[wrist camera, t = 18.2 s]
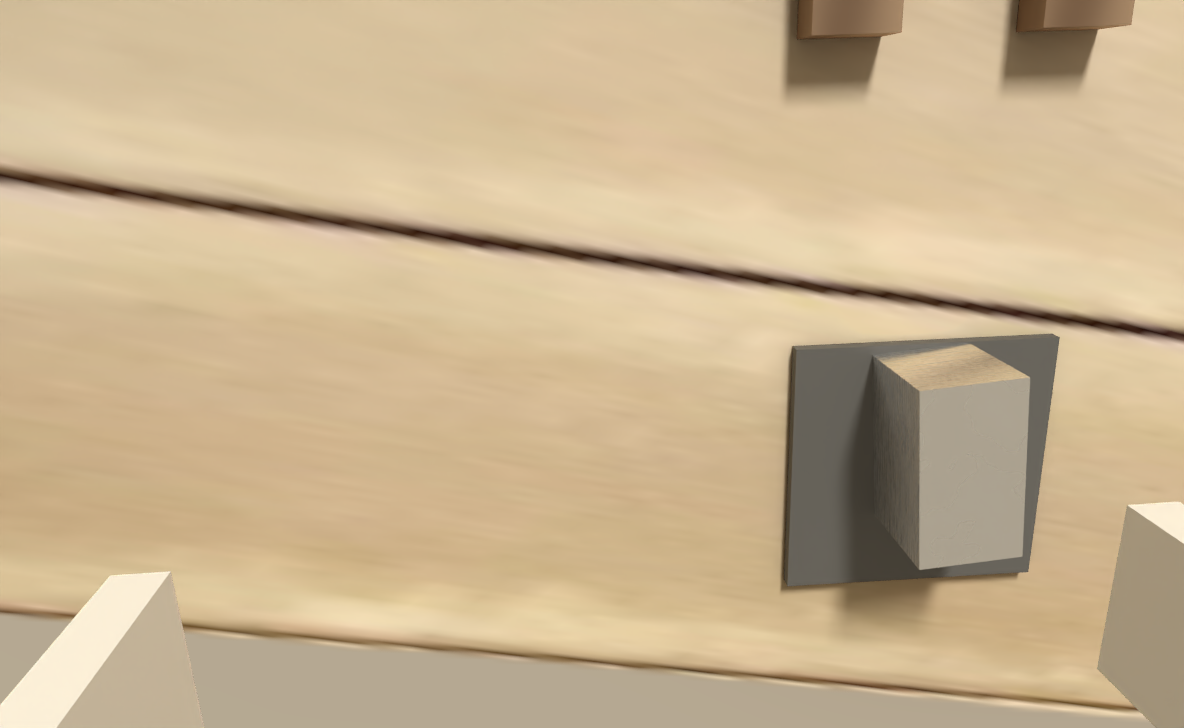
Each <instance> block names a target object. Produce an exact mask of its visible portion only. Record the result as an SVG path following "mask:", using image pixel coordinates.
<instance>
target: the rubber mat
mask: <svg viewBox="0 0 1184 728" xmlns="http://www.w3.org/2000/svg"><path fill="white" fill-rule="evenodd" d="M1059 338H1060V337H1058V336H1056V335H1053V334H1039V335H1018V336H997V337H976V338H955V339H934V340H913V341H892V342H872V343H851V344H830V345H809V346H793V355H792V381H791V408H790V435H789V462H788V489H787V515H786V542H785V569H784V580H785V582H786V584H787V586H799V585H816V584H833V583H850V582H867V581H884V580H901V579H918V578H935V577H952V576H969V575H985V574H1002V573H1019V572H1028V569H1029V561H1030V554H1031V547H1032V539H1033V532H1034V524H1035V517H1036V509H1037V502H1038V494H1039V487H1040V479H1041V472H1042V465H1043V457H1044V450H1045V442H1046V435H1047V427H1048V420H1049V412H1050V405H1051V397H1052V390H1053V382H1054V375H1055V368H1056V360H1057V353H1058V345H1059ZM965 343H970V344H972V345H973V346H975V347H977V348H979V349H981V350H982V351H984V352H986V353H988V354H990V355H991V356H993V357H995V358H997V359H998V360H1000V361H1002V362H1004V363H1006V364H1007V365H1009V366H1011V367H1013V368H1015V369H1016V370H1018V371H1020V372H1022V373H1023V374H1025V375H1027V376H1029V377H1030V393H1029V416H1028V439H1027V463H1026V486H1025V509H1024V532H1023V555H1022V557H1016V558H1008V559H1000V560H993V561H985V562H977V563H969V564H962V565H954V566H946V567H939V568H931V569H923V570H919V569H918V568H917V566H916V565H915V564H914V563H913V561H912V560H911V559H910V558H909V556H908V555H907V554H906V553H905V552H904V550H903V549H902V548H901V547H900V545H899V544H898V543H897V542H896V540H895V539H894V538H893V537H892V535H891V534H890V533H889V532H888V530H887V529H886V528H885V527H884V525H883V524H882V523H881V522H880V520H879V519H878V518H877V517H876V515H875V485H874V421H873V357H872V355H878V354H886V353H894V352H902V351H910V350H918V349H926V348H934V347H942V346H949V345H957V344H965Z"/></svg>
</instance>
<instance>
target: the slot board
mask: <svg viewBox="0 0 1184 728" xmlns="http://www.w3.org/2000/svg"><path fill="white" fill-rule="evenodd" d="M1134 1H1135V0H1019V8H1018V17H1017V27H1016V32H1031V31H1061V30H1091V29H1104V28H1111V27H1119V26H1126V25H1131V22H1132V15H1133V8H1134ZM903 3H904V0H798V24H797V39H821V38H851V37H881V36H886V35H891V34H896V33H901V32H902V17H903Z"/></svg>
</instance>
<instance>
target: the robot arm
mask: <svg viewBox="0 0 1184 728" xmlns="http://www.w3.org/2000/svg"><path fill="white" fill-rule="evenodd" d="M1097 669H1098V670H1099V671H1100V672H1101V673H1102V674H1103V675H1104V676H1105V677H1106V678H1107V679H1108V680H1109V681H1110V682H1111V683H1112V684H1113V685H1114V686H1115V687H1116V688H1117V689H1118V690H1119V691H1120V692H1121V693H1122V694H1123V695H1124V696H1125V697H1126V698H1127V699H1128V700H1129V701H1130V702H1131V703H1132V704H1133V705H1134V706H1135V707H1136V708H1137V709H1138V710H1139V711H1140V712H1141V713H1142V714H1143V715H1144V716H1145V717H1146V718H1147V719H1148V720H1149V721H1150V722H1151V723H1152V724H1153V725H1154V726H1155V727H1156V728H1184V505H1183V504H1182V503H1180V502H1166V503H1152V504H1137V505H1127V509H1126V515H1125V520H1124V525H1123V531H1122V536H1121V542H1120V547H1119V553H1118V558H1117V563H1116V569H1115V574H1114V580H1113V585H1112V591H1111V596H1110V601H1109V607H1108V612H1107V618H1106V623H1105V629H1104V634H1103V639H1102V645H1101V650H1100V656H1099V661H1098V667H1097ZM0 728H204V724H203V720H202V715H201V710H200V706H199V701H198V697H197V692H196V687H195V682H194V678H193V673H192V668H191V664H190V659H189V654H188V650H187V645H186V640H185V636H184V631H183V626H182V622H181V617H180V612H179V608H178V603H177V598H176V594H175V589H174V584H173V580H172V575H171V571H168V572H154V573H140V574H125V575H111V576H109V578H108V579H107V580H106V581H105V582H104V583H103V585H102V586H101V587H100V588H99V589H98V591H97V592H96V593H95V594H94V595H93V596H92V598H91V599H90V600H89V601H88V602H87V603H86V605H85V606H84V607H83V608H82V609H81V611H80V612H79V613H78V614H77V615H76V616H75V618H74V619H73V620H72V621H71V622H70V623H69V625H68V626H67V627H66V628H65V629H64V631H63V632H62V633H61V634H60V635H59V636H58V638H57V639H56V640H55V641H54V642H53V643H52V645H51V646H50V647H49V648H48V649H47V651H46V652H45V653H44V654H43V655H42V657H41V658H40V659H39V660H38V661H37V662H36V664H35V665H34V666H33V667H32V668H31V669H30V671H29V672H28V673H27V674H26V675H25V677H24V678H23V679H22V680H21V681H20V682H19V684H18V685H17V686H16V687H15V688H14V690H13V691H12V692H11V693H10V694H9V695H8V696H7V698H6V699H5V700H4V701H3V702H2V704H1V705H0Z"/></svg>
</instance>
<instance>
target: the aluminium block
mask: <svg viewBox="0 0 1184 728" xmlns="http://www.w3.org/2000/svg"><path fill="white" fill-rule="evenodd" d="M872 357H873V421H874V485H875V515H876V517H877V518H878V519H879V520H880V522H881V523H882V524H883V525H884V527H885V528H886V529H887V530H888V532H889V533H890V534H891V535H892V537H893V538H894V539H895V540H896V542H897V543H898V544H899V545H900V547H901V548H902V549H903V550H904V552H905V553H906V554H907V555H908V556H909V558H910V559H911V560H912V561H913V563H914V564H915V565H916V566H917V568H918V569H919V570H923V569H931V568H939V567H946V566H954V565H962V564H969V563H977V562H985V561H993V560H1000V559H1008V558H1016V557H1022V555H1023V532H1024V509H1025V486H1026V463H1027V439H1028V416H1029V393H1030V377H1029V376H1027V375H1025V374H1023V373H1022V372H1020V371H1018V370H1016V369H1015V368H1013V367H1011V366H1009V365H1007V364H1006V363H1004V362H1002V361H1000V360H998V359H997V358H995V357H993V356H991V355H990V354H988V353H986V352H984V351H982V350H981V349H979V348H977V347H975V346H973V345H972V344H970V343H965V344H957V345H949V346H942V347H934V348H926V349H918V350H910V351H902V352H894V353H886V354H878V355H872Z"/></svg>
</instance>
